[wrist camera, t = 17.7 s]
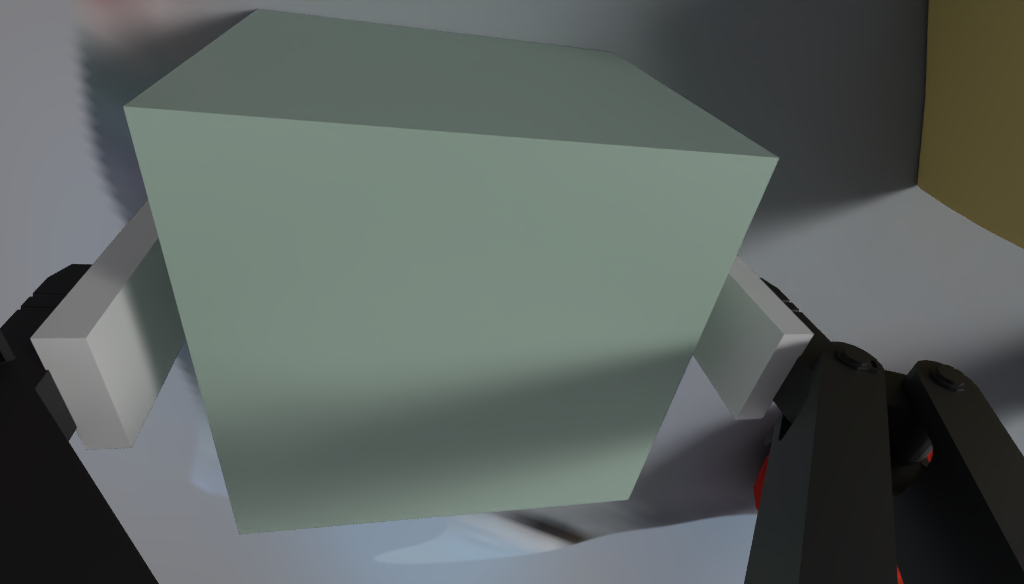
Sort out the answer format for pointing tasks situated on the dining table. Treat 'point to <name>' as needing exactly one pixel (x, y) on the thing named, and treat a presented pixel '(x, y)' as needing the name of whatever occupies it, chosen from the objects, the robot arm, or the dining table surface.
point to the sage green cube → (434, 263)
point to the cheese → (976, 112)
